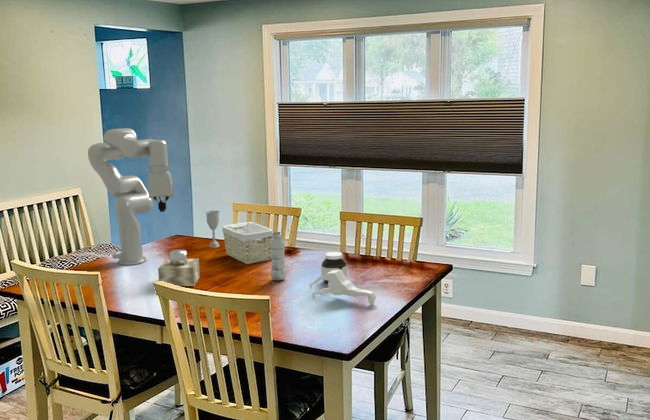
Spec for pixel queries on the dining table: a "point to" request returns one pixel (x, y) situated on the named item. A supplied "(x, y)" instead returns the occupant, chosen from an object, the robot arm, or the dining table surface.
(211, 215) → the chalice
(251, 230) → the storage basket
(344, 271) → the spread jar
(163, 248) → the dining table surface
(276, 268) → the plastic bottle
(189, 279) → the block
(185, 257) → the silver metal cylinder
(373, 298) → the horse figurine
